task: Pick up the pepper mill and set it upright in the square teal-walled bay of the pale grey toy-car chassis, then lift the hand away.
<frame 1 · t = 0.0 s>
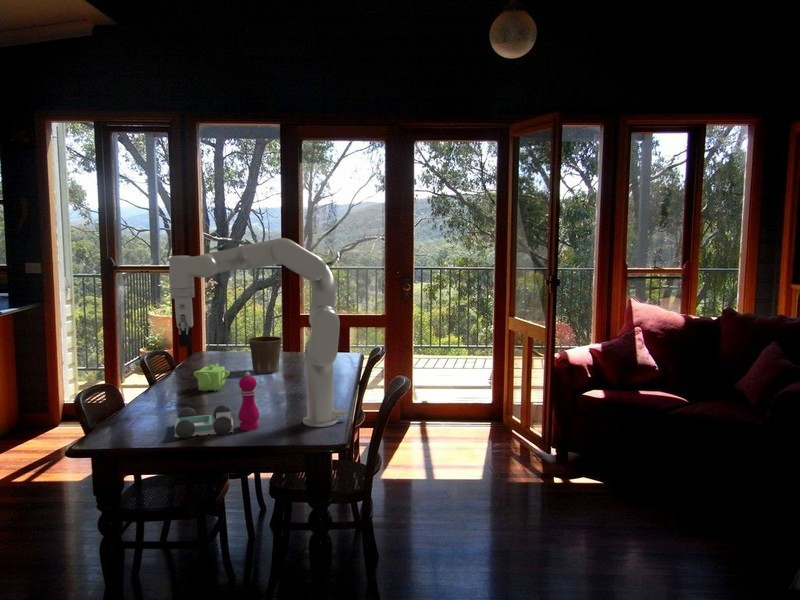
hand: (185, 343, 211), 31 cm above the table, tool pointing down, fingers open, 9 cm apart
teapot: (212, 389, 274), on the table
pepper mill: (249, 428, 221), on the table
plant pot: (266, 371, 307), on the table
chassis: (204, 429, 220), on the table
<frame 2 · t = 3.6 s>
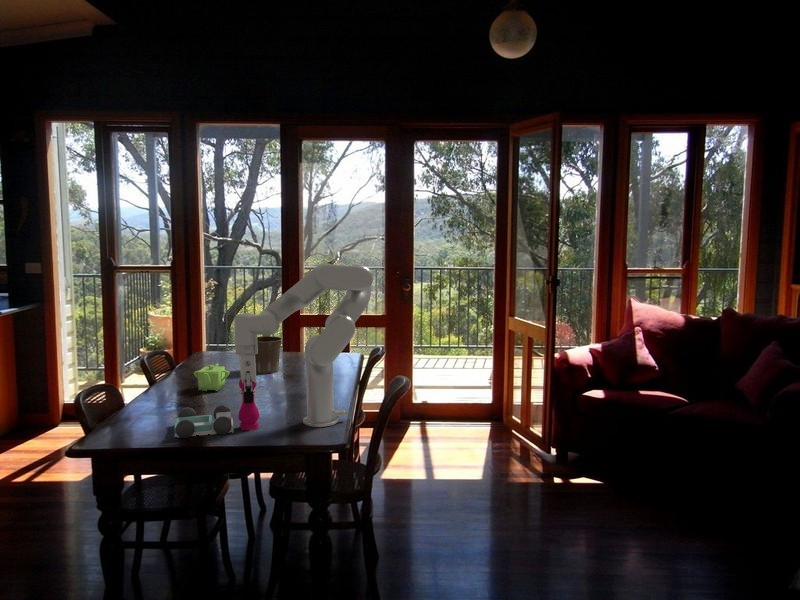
hand: (248, 400, 220), 10 cm above the table, tool pointing down, fingers closed on pepper mill, 5 cm apart
pepper mill: (249, 428, 221), on the table, touching gripper
everything else where it was.
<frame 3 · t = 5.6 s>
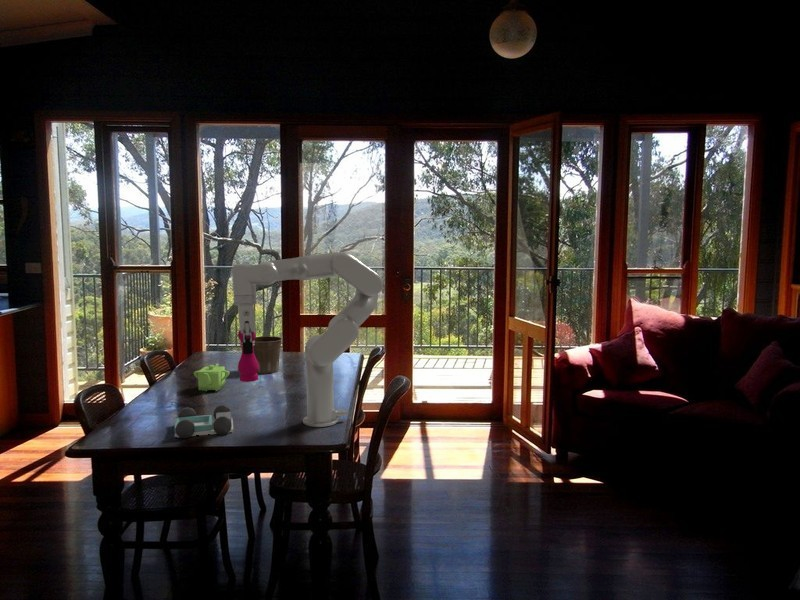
hand: (247, 351, 218), 27 cm above the table, tool pointing down, fingers closed on pepper mill, 5 cm apart
pepper mill: (249, 380, 219), point 17 cm above the table, touching gripper
everything else where it was.
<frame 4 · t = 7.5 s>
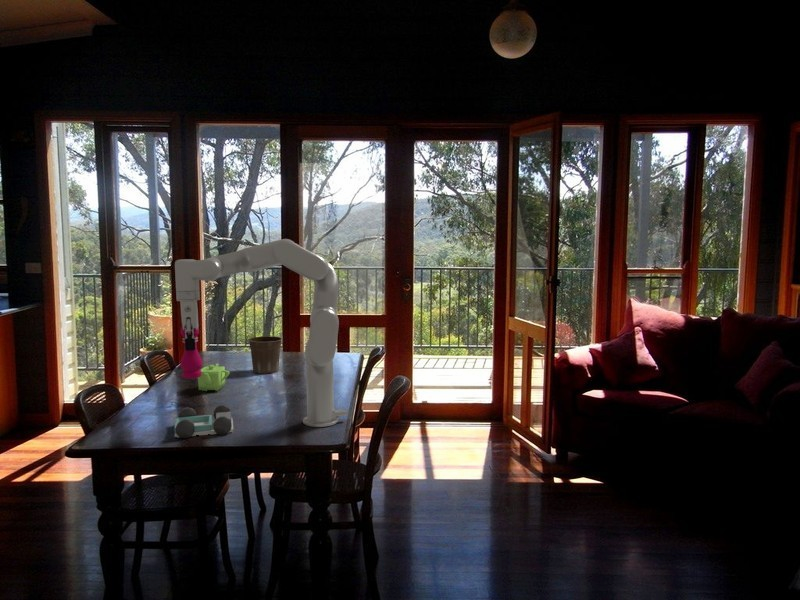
hand: (190, 348, 215), 29 cm above the table, tool pointing down, fingers closed on pepper mill, 5 cm apart
pepper mill: (192, 377, 217), point 19 cm above the table, touching gripper
everything else where it was.
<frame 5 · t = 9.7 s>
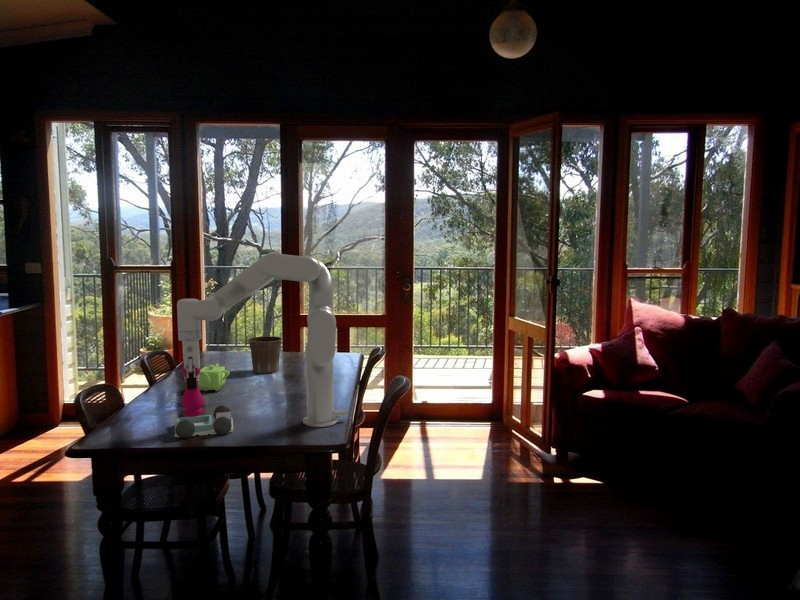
hand: (192, 386, 217), 15 cm above the table, tool pointing down, fingers closed on pepper mill, 5 cm apart
pepper mill: (193, 415, 218), point 5 cm above the table, touching gripper
everything else where it was.
when the fingers open (12 cm above the table, at t = 11.3 s): pepper mill drops 1 cm, resting on chassis.
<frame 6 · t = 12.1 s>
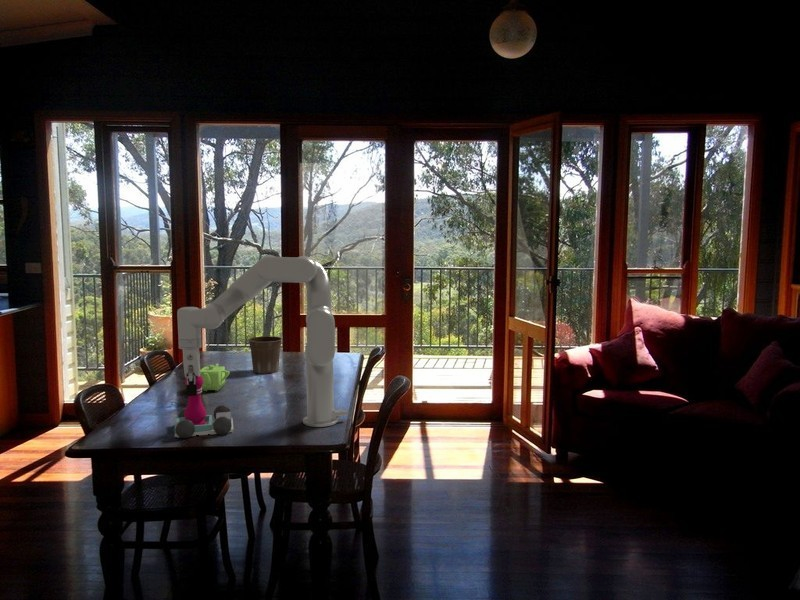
hand: (192, 392, 217), 14 cm above the table, tool pointing down, fingers open, 9 cm apart
pepper mill: (195, 427, 218), point 1 cm above the table, touching chassis
everything else where it was.
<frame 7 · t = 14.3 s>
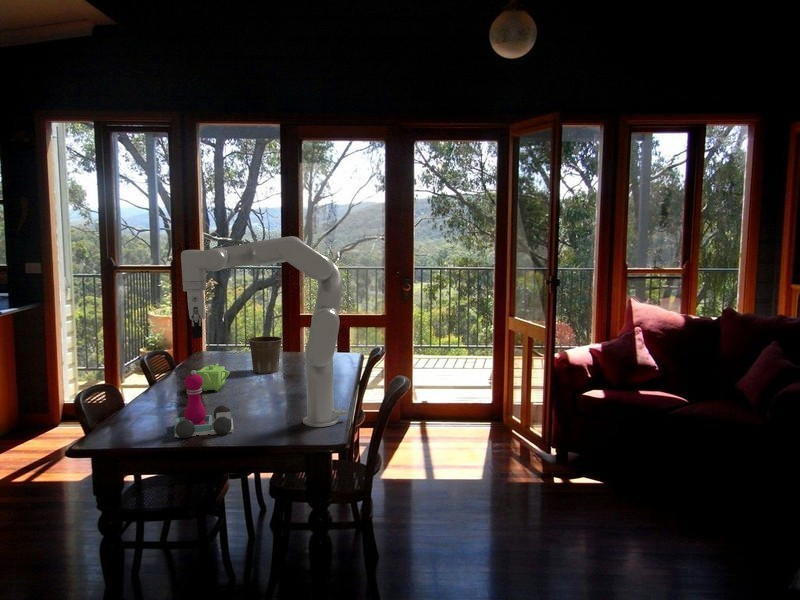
hand: (197, 335, 217), 33 cm above the table, tool pointing down, fingers open, 9 cm apart
nothing on the table moved.
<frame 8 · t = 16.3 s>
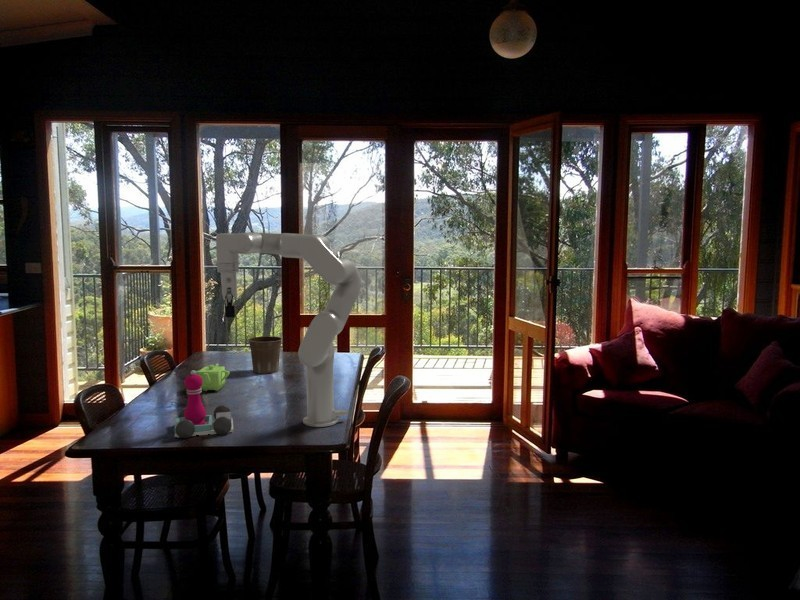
hand: (229, 315, 227), 38 cm above the table, tool pointing down, fingers open, 9 cm apart
nothing on the table moved.
at the end: pepper mill 0.5 cm from the target spot on the chassis, point 1.0 cm above the chassis's base; pepper mill tilted 0°; the gripper is holding nothing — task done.
